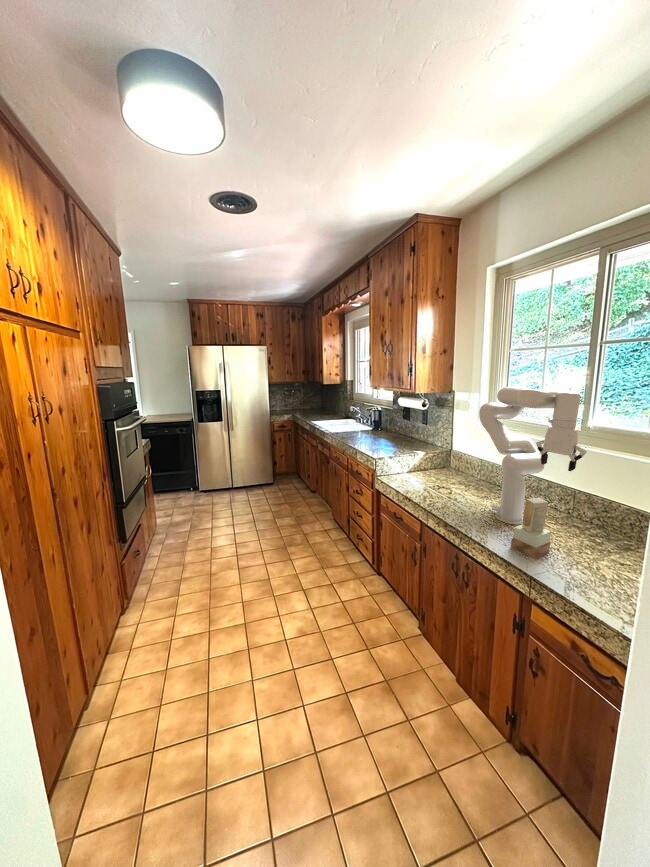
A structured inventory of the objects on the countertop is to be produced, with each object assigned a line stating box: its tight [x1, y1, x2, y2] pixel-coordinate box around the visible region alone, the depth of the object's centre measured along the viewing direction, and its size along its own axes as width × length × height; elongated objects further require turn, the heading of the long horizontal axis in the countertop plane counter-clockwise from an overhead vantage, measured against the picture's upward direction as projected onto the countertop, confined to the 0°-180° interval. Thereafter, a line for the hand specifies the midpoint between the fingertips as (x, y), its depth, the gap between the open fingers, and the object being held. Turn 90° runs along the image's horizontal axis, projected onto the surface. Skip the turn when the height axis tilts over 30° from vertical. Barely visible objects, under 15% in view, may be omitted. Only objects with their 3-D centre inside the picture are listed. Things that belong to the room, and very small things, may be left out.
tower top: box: [512, 524, 552, 548], centre depth 134 cm, size 9×9×4 cm
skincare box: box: [521, 497, 549, 532], centre depth 131 cm, size 6×4×12 cm
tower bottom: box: [510, 537, 551, 561], centre depth 134 cm, size 10×10×4 cm
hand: (557, 467), depth 134 cm, fingers open, 9 cm apart
